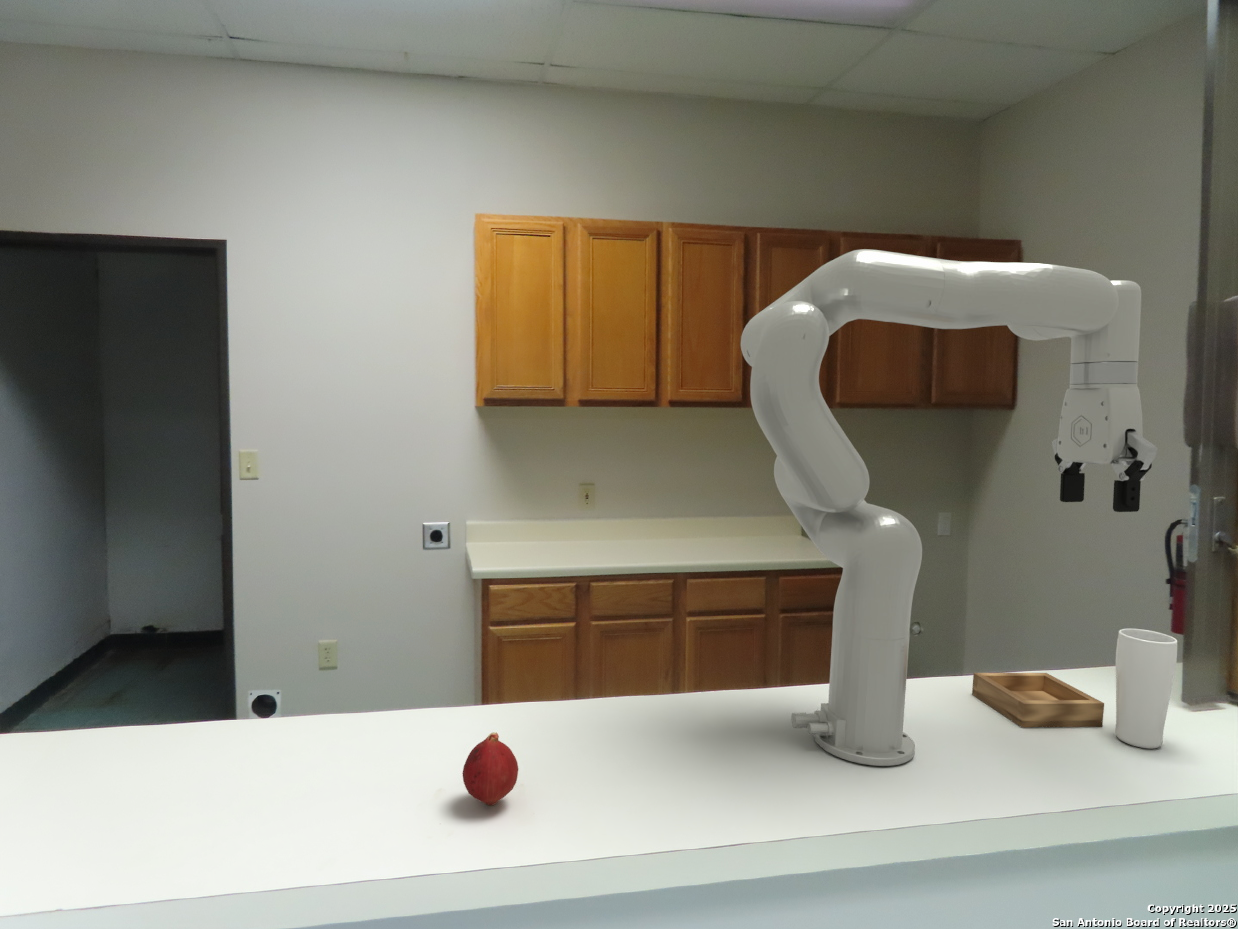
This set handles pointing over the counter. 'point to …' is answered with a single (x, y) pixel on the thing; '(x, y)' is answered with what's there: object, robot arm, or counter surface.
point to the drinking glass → (1143, 685)
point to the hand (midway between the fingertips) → (1097, 506)
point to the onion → (490, 770)
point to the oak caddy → (1037, 700)
